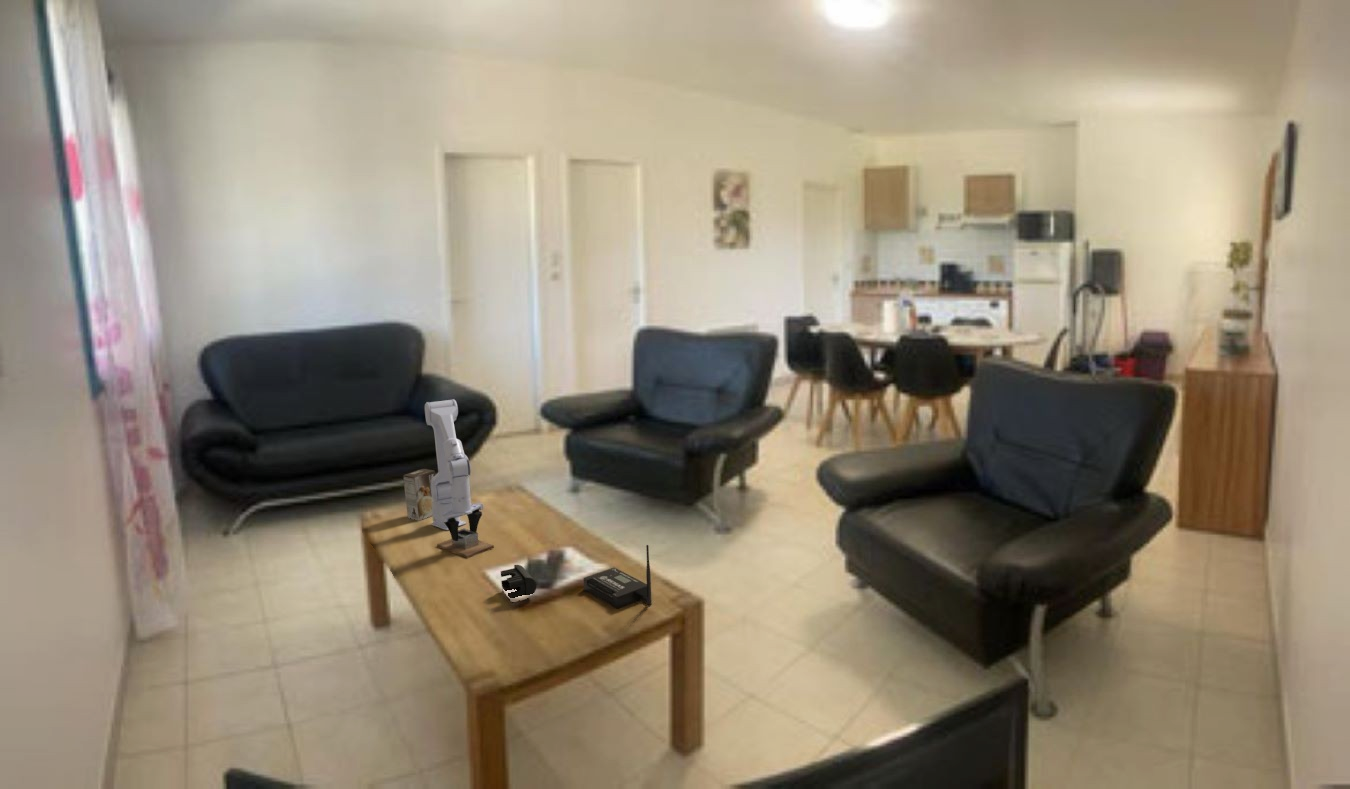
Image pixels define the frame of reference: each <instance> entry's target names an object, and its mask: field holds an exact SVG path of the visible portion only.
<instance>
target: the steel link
mask: <svg viewBox="0 0 1350 789" xmlns="http://www.w3.org/2000/svg"><path fill="white" fill-rule="evenodd" d="M463 534H467V536H464V535H463ZM478 535H479V533H478V531H476V532H474V531H471V530H470V529H468V528H464V527H463V528H460V529H458V541H454V540H453V539H452V536H451V535H450V536H451V538H450V539H452V545H454V546H457V547H459V548H462V549H465V550H466V549H469V548H471V547H474V546H477V545H479V543H478V540H479V536H478Z"/></svg>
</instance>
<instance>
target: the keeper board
mask: <svg viewBox="0 0 1350 789" xmlns="http://www.w3.org/2000/svg"><path fill="white" fill-rule="evenodd" d="M463 535H464V536H467V534H463ZM478 543H479V545H477V546H474V547H471V548H469V549H466V550H465V549H462V548H459V547H457V546H454V545H452V538H449V539H446V540H444V541H442V542H438V543H437V544H436V547H437V548H441V549H442V550H446V551H448V552H450V553H453V554H456V555H458V556H462V557H464V558H467V559H468V558H471V557H474V556H476V555H478V554H482V553H483V552H487V551H489V550H491V549H494V548H495V546H494V544H490V543H488V542H485V541H482V540H480V539H478Z"/></svg>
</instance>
